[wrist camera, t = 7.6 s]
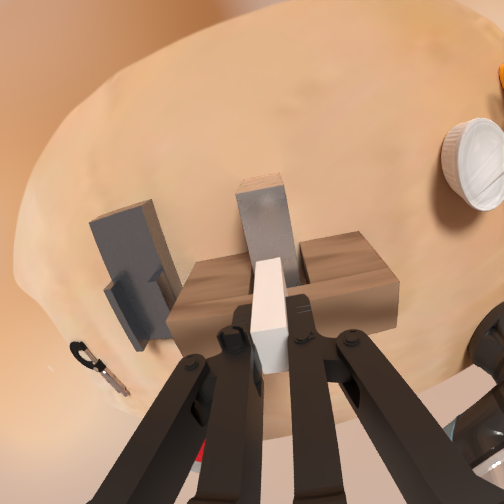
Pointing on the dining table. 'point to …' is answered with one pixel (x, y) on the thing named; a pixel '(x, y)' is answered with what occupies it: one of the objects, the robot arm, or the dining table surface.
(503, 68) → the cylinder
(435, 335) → the dining table surface
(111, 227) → the cradle
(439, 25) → the dining table surface
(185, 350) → the brown notched block
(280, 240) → the steel bar
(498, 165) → the ramekin
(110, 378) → the micrometer
